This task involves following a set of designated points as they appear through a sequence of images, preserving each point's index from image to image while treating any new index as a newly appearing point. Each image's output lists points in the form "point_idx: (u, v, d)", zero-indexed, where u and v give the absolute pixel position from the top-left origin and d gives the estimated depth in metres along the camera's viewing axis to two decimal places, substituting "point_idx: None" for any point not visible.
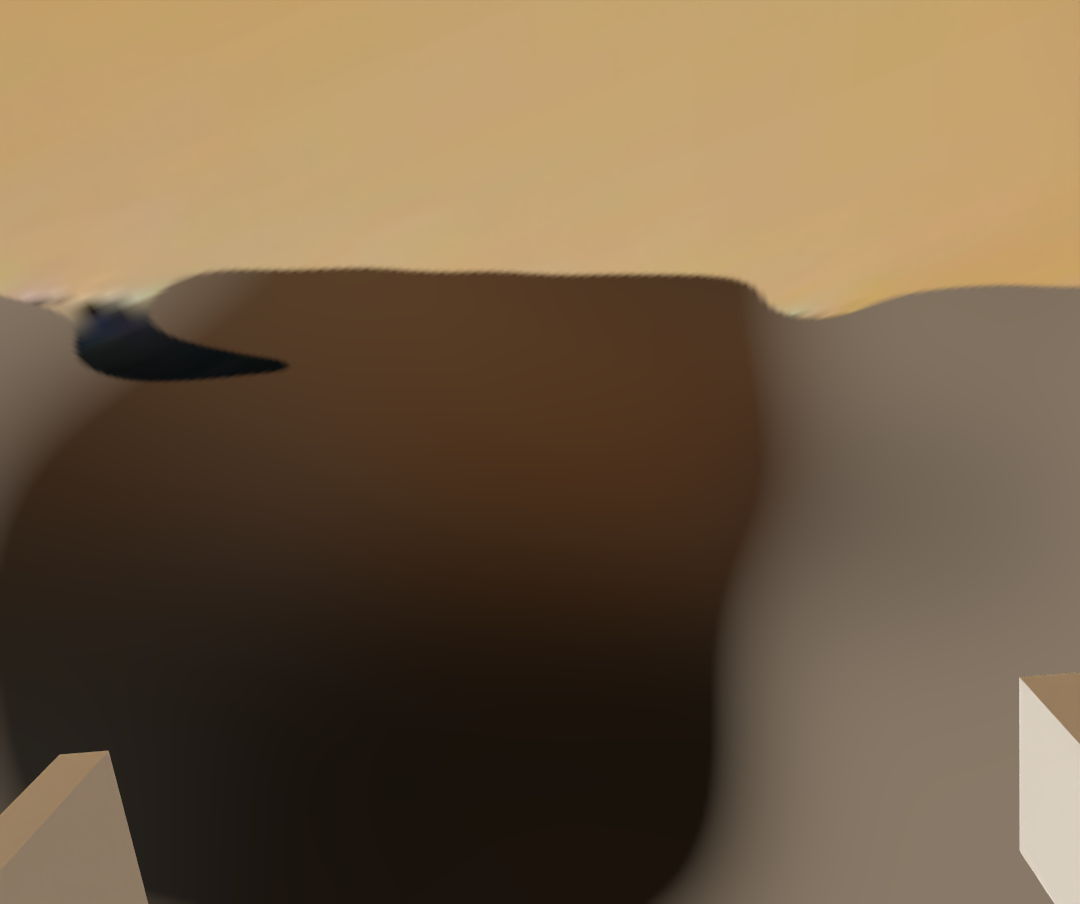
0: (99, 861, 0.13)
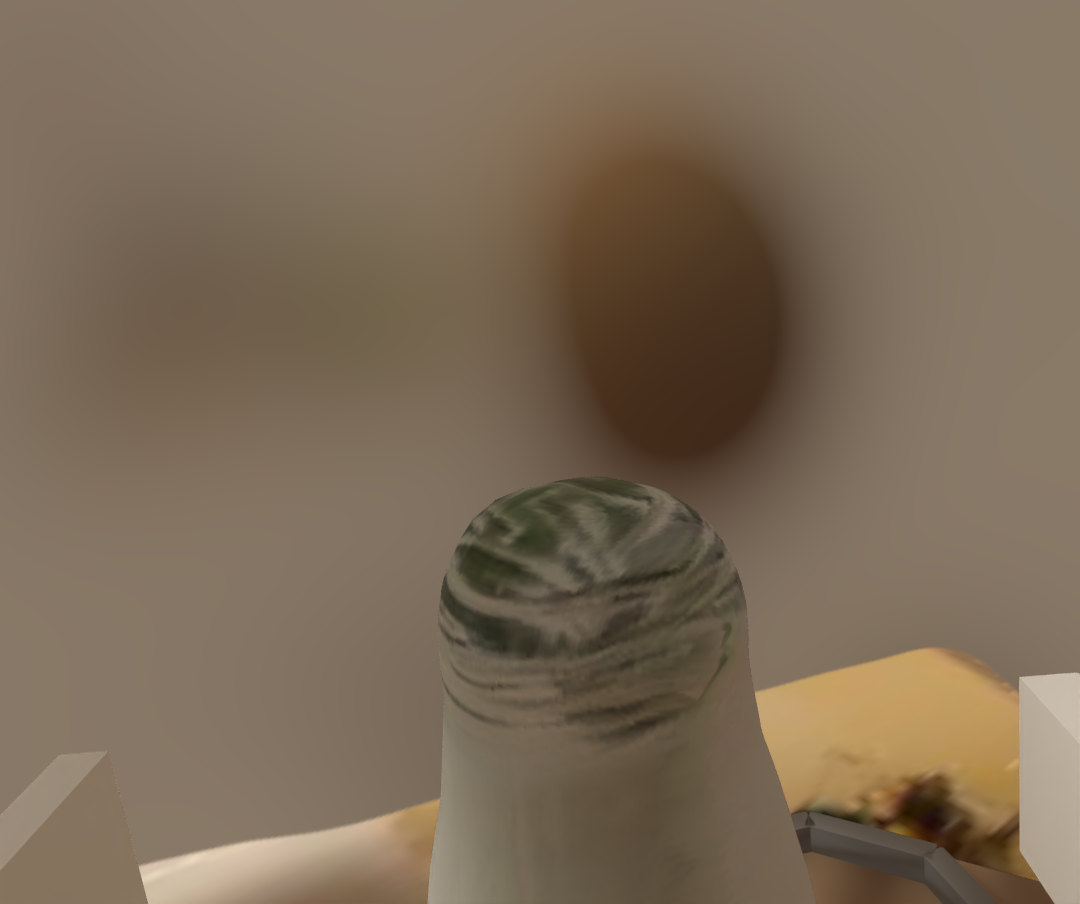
0: (99, 861, 0.13)
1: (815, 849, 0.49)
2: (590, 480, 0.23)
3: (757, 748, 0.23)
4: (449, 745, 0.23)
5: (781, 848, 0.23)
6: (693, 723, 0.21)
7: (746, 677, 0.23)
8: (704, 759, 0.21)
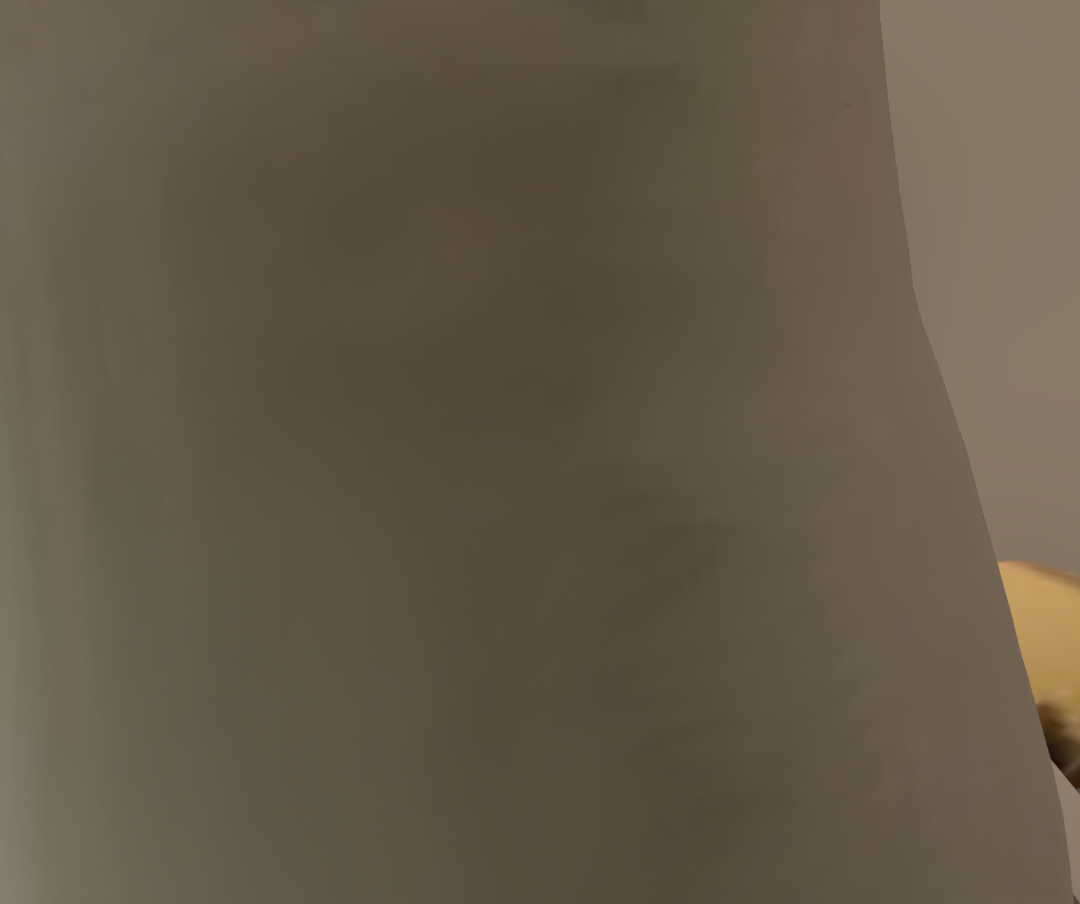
0: None
1: None
2: None
3: (907, 271, 0.07)
4: None
5: (985, 577, 0.07)
6: (716, 7, 0.06)
7: (878, 21, 0.07)
8: (753, 172, 0.06)
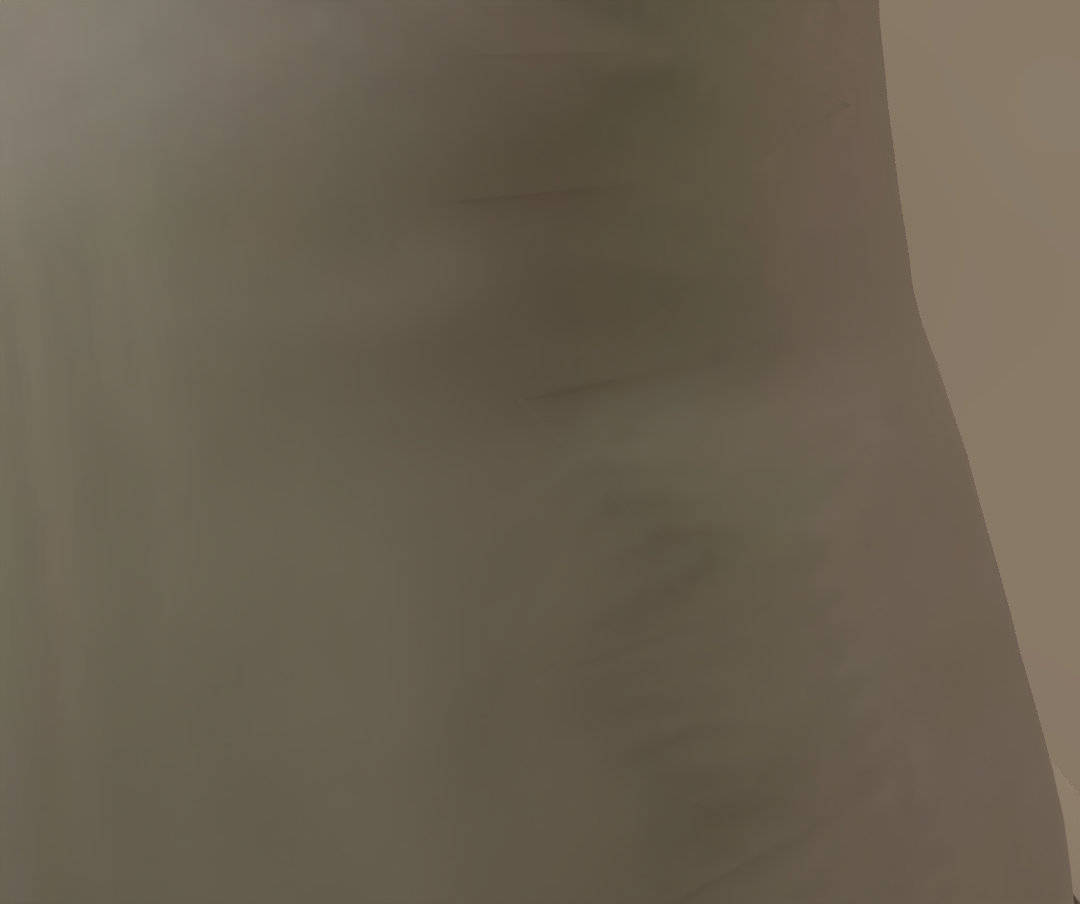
0: None
1: None
2: None
3: (907, 273, 0.07)
4: None
5: (985, 579, 0.07)
6: (714, 5, 0.05)
7: (877, 21, 0.07)
8: (752, 173, 0.06)
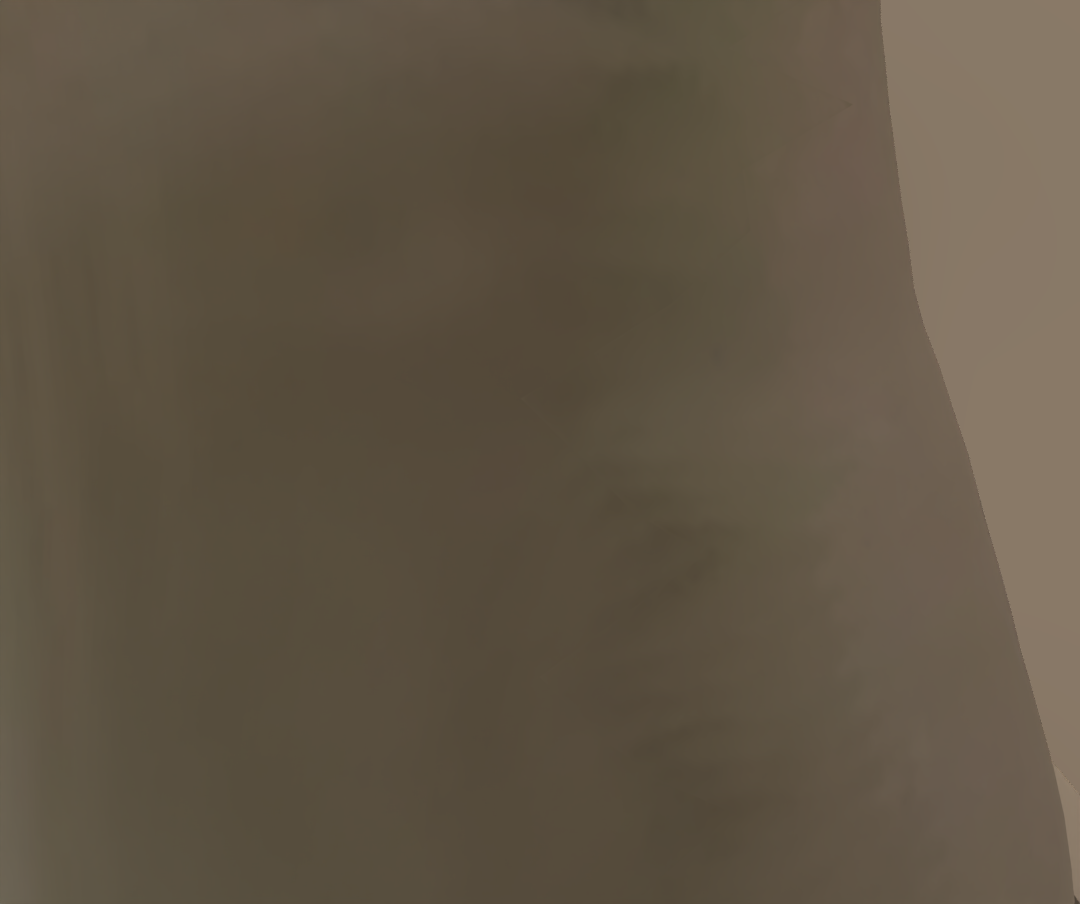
0: None
1: None
2: None
3: (907, 272, 0.07)
4: None
5: (986, 576, 0.07)
6: (715, 4, 0.06)
7: (879, 20, 0.07)
8: (754, 171, 0.06)
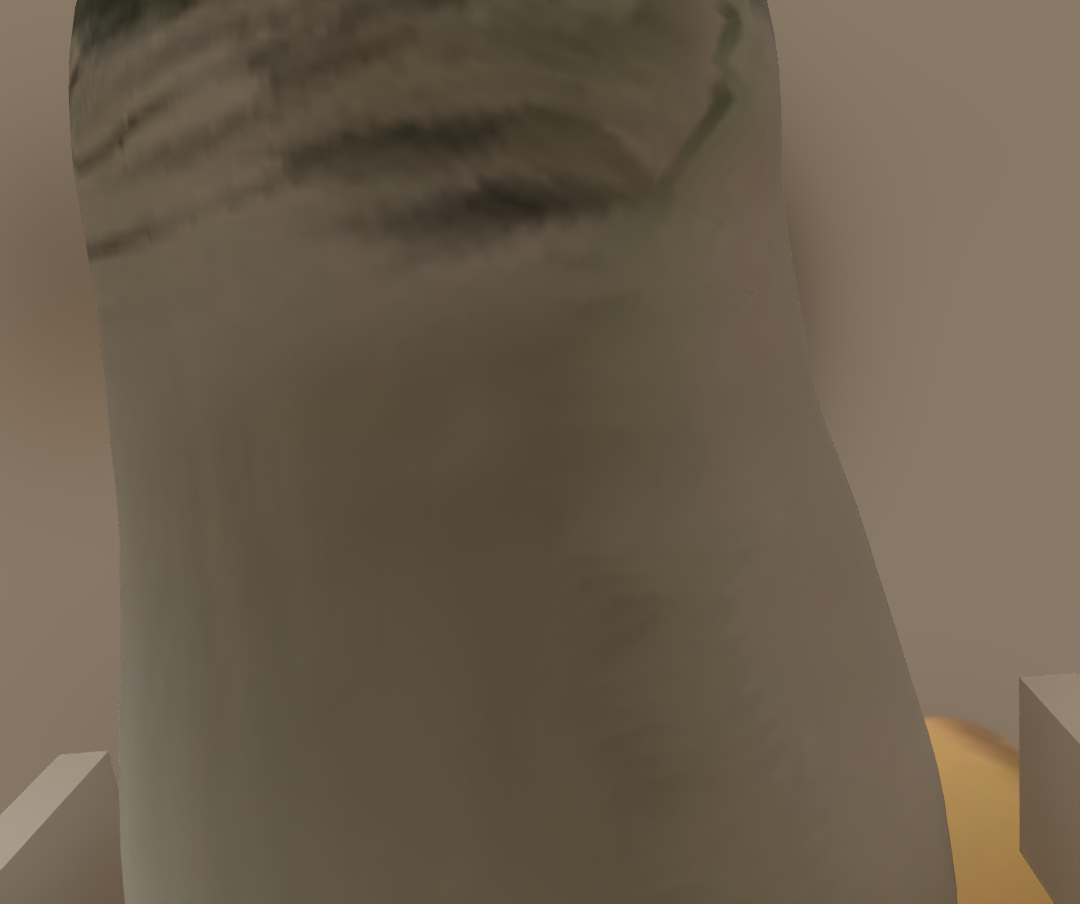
0: (99, 861, 0.13)
1: None
2: None
3: (807, 395, 0.10)
4: None
5: (868, 619, 0.10)
6: (650, 249, 0.08)
7: (779, 219, 0.10)
8: (681, 353, 0.09)
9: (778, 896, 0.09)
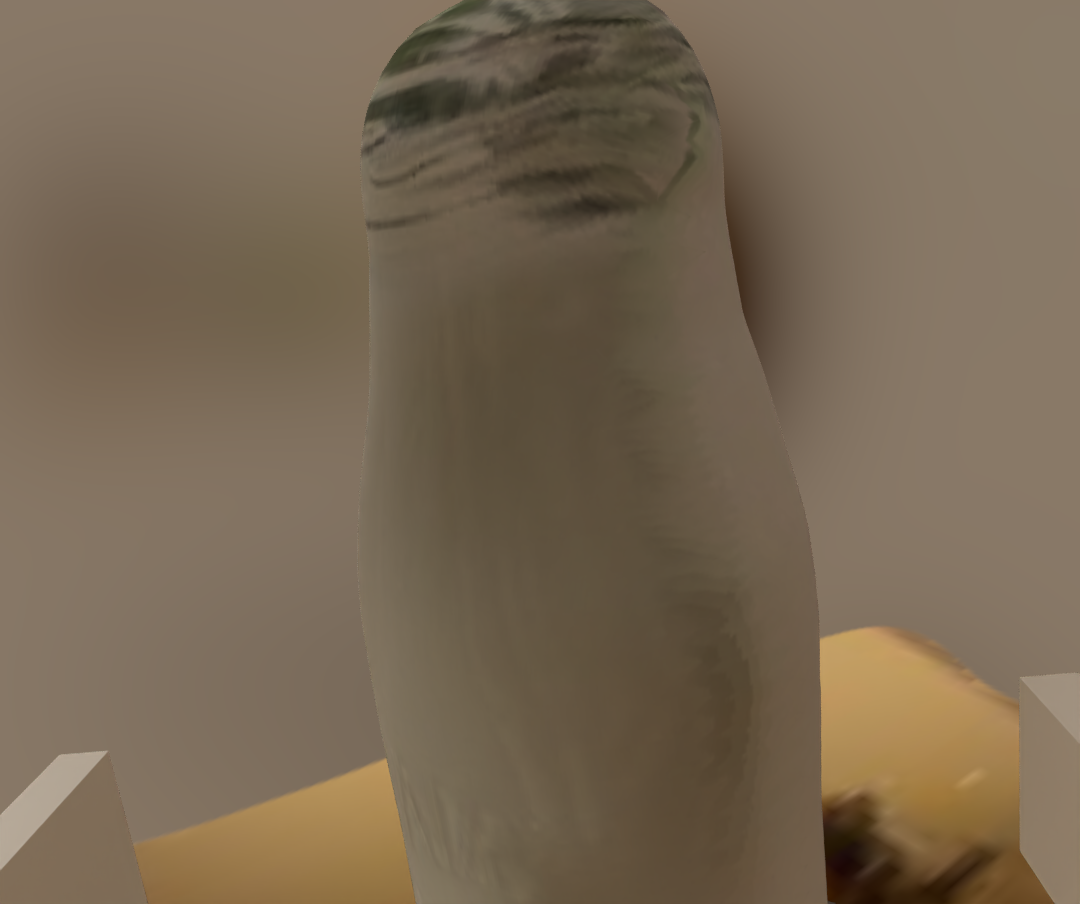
0: (99, 861, 0.13)
1: None
2: None
3: (734, 308, 0.20)
4: (373, 296, 0.19)
5: (763, 423, 0.20)
6: (655, 228, 0.18)
7: (721, 215, 0.19)
8: (668, 278, 0.18)
9: (711, 539, 0.18)
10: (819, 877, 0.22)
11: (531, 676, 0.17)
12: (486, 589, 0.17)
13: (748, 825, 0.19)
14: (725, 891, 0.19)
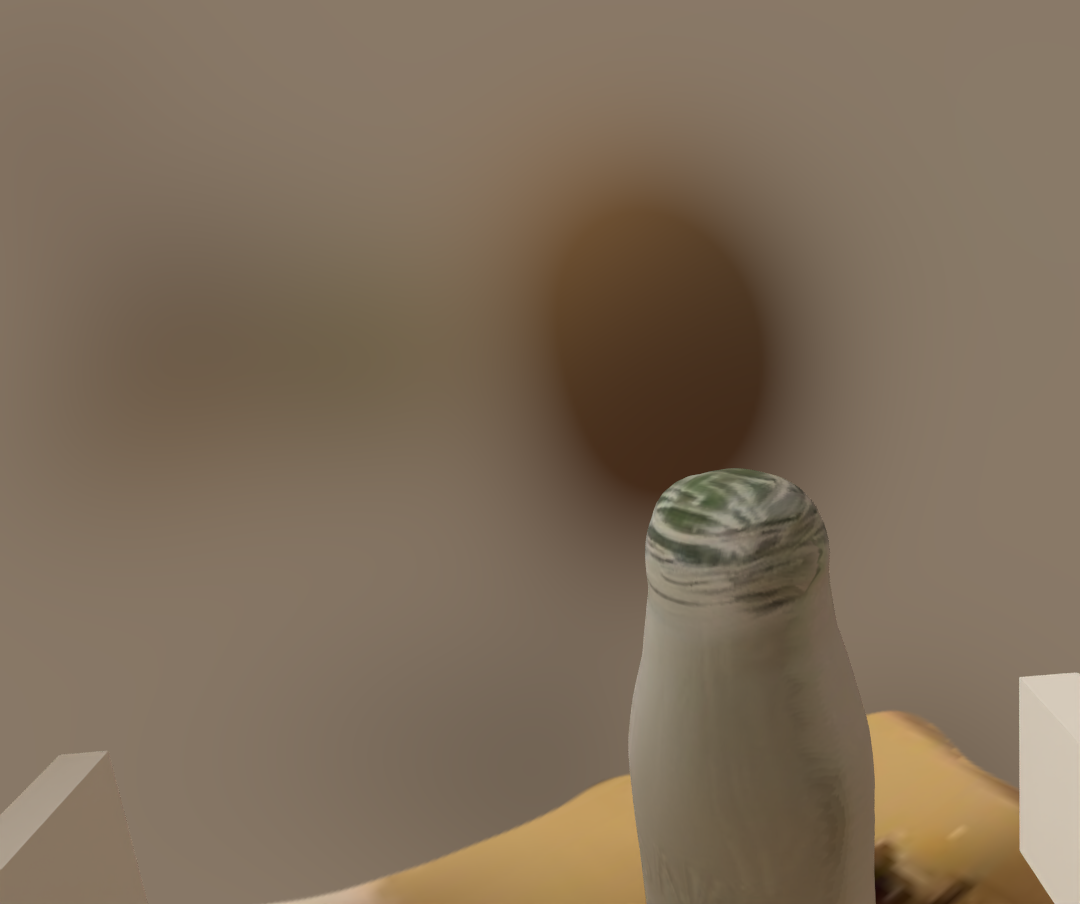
0: (99, 861, 0.13)
1: None
2: (734, 470, 0.40)
3: (834, 626, 0.39)
4: (656, 624, 0.39)
5: (849, 684, 0.39)
6: (802, 605, 0.37)
7: (828, 583, 0.39)
8: (807, 627, 0.38)
9: (827, 750, 0.38)
10: None
11: (745, 818, 0.37)
12: (724, 777, 0.37)
13: (842, 885, 0.39)
14: None
